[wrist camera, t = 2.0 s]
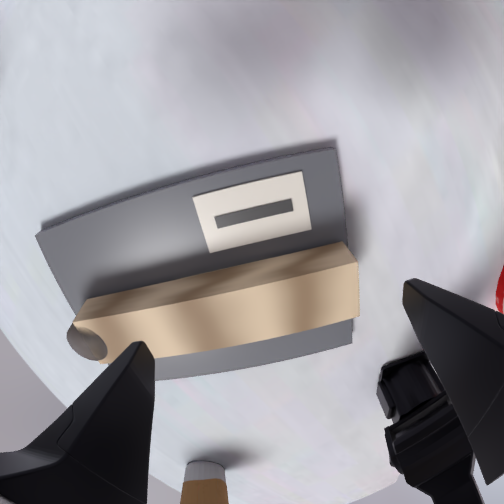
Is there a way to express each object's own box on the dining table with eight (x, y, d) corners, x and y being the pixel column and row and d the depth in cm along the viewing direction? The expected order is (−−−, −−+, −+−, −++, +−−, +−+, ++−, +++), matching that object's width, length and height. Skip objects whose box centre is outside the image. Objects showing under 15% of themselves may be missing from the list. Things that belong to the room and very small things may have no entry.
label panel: (330, 147, 18) (337, 149, 17) (349, 336, 26) (353, 345, 25) (40, 230, 19) (32, 236, 18) (124, 376, 27) (121, 385, 26)
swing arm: (341, 240, 20) (357, 261, 17) (345, 291, 22) (359, 316, 19) (71, 301, 21) (56, 324, 18) (95, 341, 23) (84, 365, 20)
